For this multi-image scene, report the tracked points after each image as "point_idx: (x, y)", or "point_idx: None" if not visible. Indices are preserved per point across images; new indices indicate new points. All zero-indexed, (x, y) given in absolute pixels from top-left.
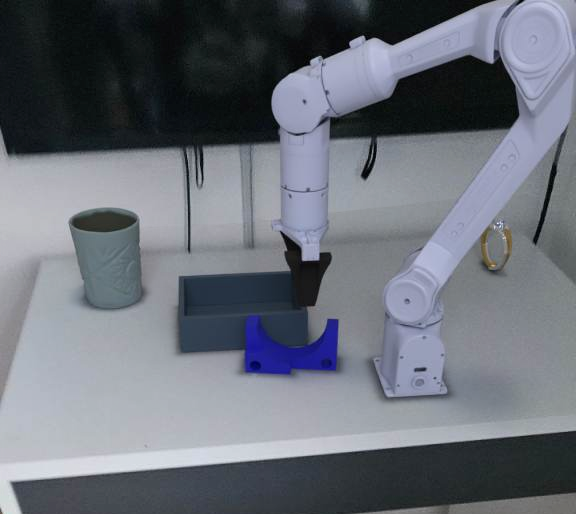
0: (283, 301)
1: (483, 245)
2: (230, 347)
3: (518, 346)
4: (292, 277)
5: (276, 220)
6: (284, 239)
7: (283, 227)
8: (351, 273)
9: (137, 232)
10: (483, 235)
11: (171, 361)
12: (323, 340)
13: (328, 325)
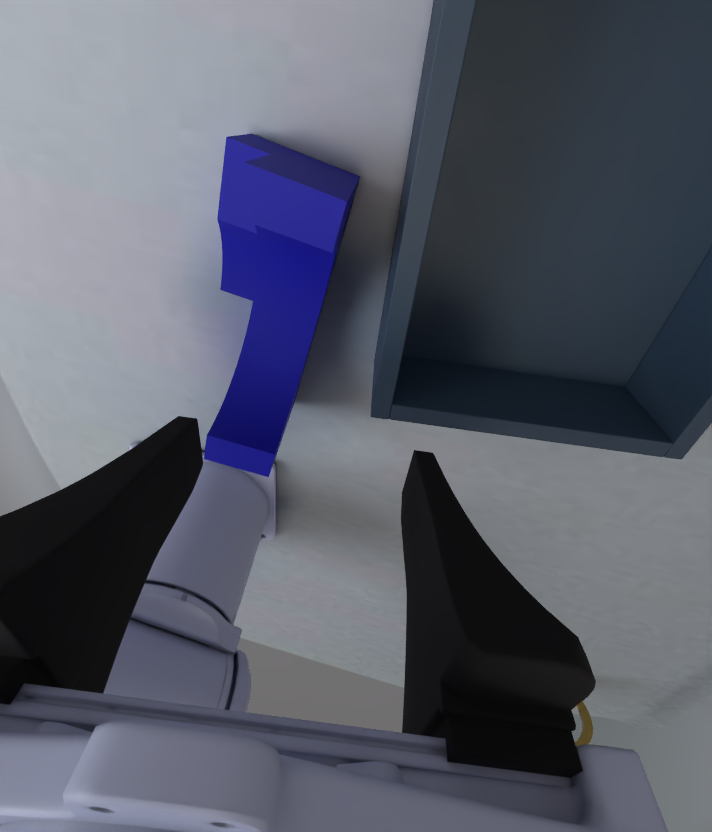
0: (638, 363)
1: (577, 706)
2: (417, 102)
3: (294, 621)
4: (415, 457)
5: (234, 829)
6: (449, 598)
7: (42, 810)
8: (684, 534)
9: None
10: (583, 727)
11: None
12: (221, 408)
13: (231, 446)
